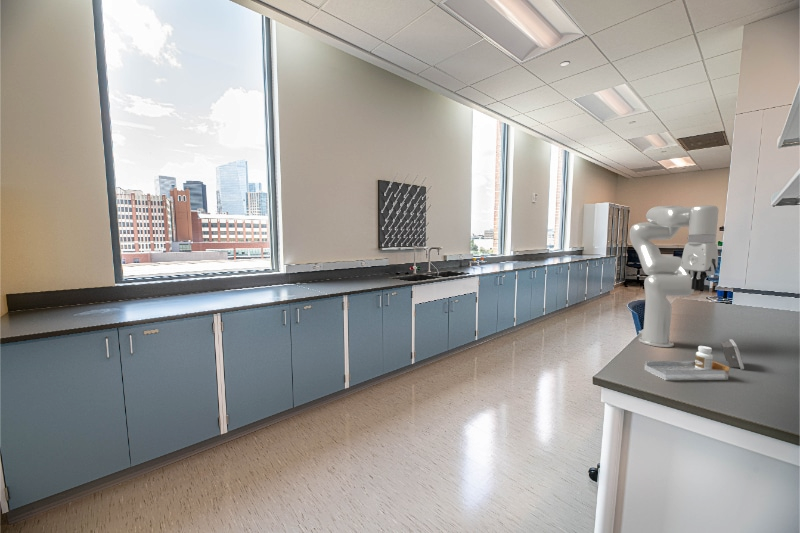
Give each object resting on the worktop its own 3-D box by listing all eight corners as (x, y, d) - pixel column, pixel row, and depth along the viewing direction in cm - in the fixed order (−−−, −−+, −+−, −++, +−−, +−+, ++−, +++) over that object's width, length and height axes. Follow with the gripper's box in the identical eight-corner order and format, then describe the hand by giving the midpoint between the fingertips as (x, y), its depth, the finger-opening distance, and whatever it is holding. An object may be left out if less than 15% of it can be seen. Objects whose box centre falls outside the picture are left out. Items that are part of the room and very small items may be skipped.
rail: (644, 369, 119) (645, 357, 118) (702, 369, 119) (703, 357, 119) (665, 380, 110) (666, 367, 109) (727, 379, 111) (729, 366, 110)
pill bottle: (691, 365, 117) (693, 345, 117) (704, 366, 117) (706, 345, 116) (701, 370, 113) (703, 349, 112) (715, 371, 112) (717, 349, 112)
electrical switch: (744, 370, 118) (743, 345, 118) (724, 368, 122) (723, 343, 121) (739, 363, 126) (738, 339, 125) (721, 361, 129) (719, 338, 129)
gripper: (673, 239, 126) (670, 286, 128) (711, 240, 111) (707, 293, 113) (692, 239, 126) (688, 286, 128) (733, 240, 111) (728, 292, 113)
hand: (697, 289), depth 120 cm, fingers closed
